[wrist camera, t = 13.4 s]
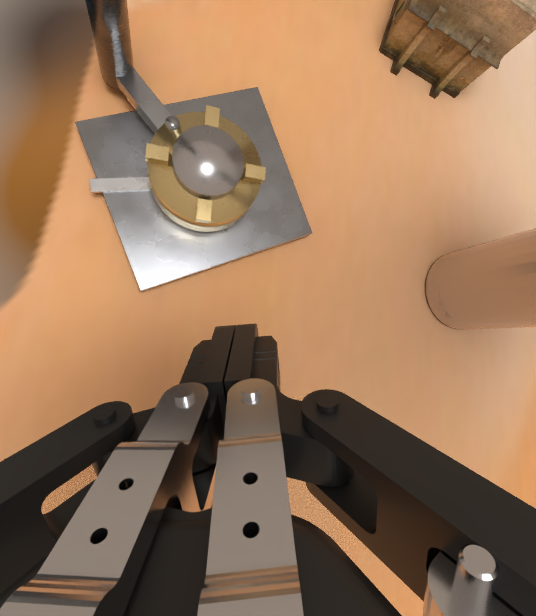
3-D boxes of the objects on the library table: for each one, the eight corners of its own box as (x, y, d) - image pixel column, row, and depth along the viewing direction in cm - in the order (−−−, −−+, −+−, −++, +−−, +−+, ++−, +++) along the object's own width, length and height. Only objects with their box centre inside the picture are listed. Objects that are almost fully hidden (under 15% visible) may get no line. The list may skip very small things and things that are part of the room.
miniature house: (464, 117, 47) (556, 50, 36) (372, 61, 44) (443, -31, 33) (489, 23, 49) (582, -66, 39) (404, -36, 46) (479, -152, 35)
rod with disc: (273, 193, 37) (372, 67, 20) (197, 252, 34) (233, 167, 17) (151, 37, 35) (143, -259, 17) (59, 88, 32) (-58, -202, 15)
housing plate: (249, 80, 39) (252, 70, 37) (307, 236, 39) (312, 232, 38) (61, 114, 33) (57, 105, 32) (132, 295, 34) (130, 293, 32)
